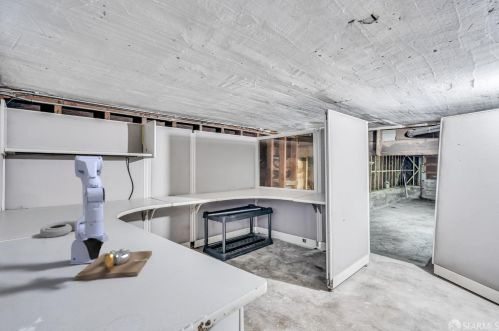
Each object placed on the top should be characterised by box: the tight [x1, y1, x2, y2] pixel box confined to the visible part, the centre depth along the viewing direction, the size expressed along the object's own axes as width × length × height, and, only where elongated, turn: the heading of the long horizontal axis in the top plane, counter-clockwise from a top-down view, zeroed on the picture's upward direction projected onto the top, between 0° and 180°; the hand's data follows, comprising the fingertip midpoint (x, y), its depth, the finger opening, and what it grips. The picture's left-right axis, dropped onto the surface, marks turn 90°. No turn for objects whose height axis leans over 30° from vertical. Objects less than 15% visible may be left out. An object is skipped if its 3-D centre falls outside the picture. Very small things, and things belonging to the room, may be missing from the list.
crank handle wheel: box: [105, 248, 131, 270], centre depth 91 cm, size 14×8×6 cm, turn 10°
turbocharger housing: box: [39, 220, 76, 238], centre depth 141 cm, size 17×6×15 cm
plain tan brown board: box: [74, 250, 153, 281], centre depth 94 cm, size 21×22×2 cm
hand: (94, 258), depth 87 cm, fingers closed
